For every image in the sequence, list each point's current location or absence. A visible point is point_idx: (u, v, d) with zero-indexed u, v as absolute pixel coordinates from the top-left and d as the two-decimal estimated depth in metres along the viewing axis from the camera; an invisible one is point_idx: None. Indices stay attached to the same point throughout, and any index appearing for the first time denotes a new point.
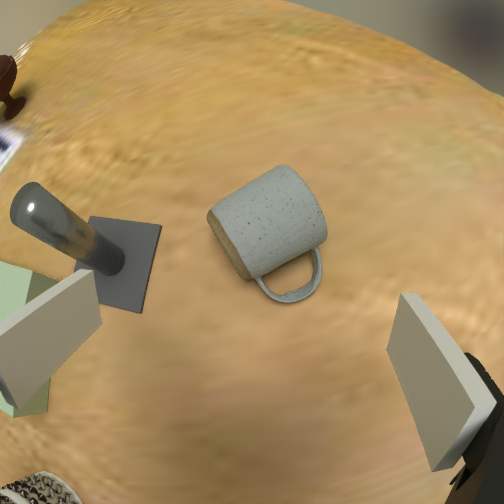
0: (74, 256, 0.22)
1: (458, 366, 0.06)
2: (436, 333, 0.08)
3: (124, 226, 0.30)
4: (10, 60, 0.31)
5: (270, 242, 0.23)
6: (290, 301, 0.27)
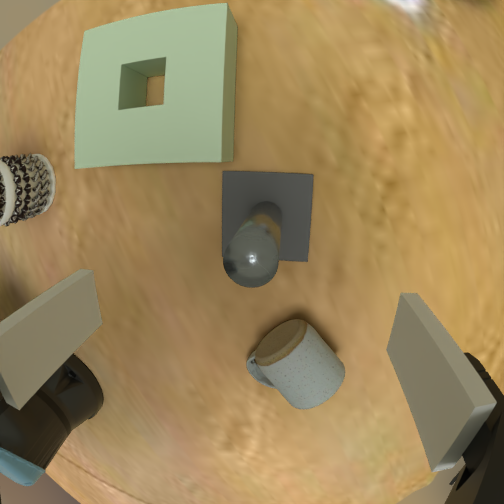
0: None
1: (458, 366, 0.06)
2: (436, 333, 0.08)
3: (303, 223, 0.31)
4: None
5: (275, 382, 0.30)
6: (247, 368, 0.36)
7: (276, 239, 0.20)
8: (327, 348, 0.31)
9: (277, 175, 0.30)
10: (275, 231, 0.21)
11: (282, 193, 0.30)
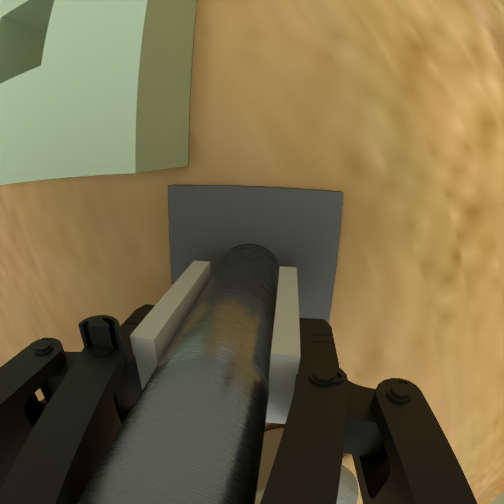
0: None
1: (282, 322, 0.09)
2: (284, 297, 0.11)
3: (321, 284, 0.16)
4: None
5: None
6: None
7: (250, 450, 0.05)
8: None
9: (272, 193, 0.15)
10: (252, 397, 0.06)
11: (282, 228, 0.16)
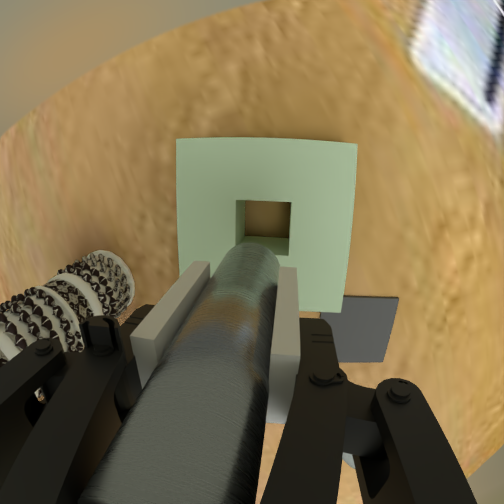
0: None
1: (282, 322, 0.09)
2: (284, 297, 0.11)
3: (385, 335, 0.34)
4: None
5: None
6: None
7: (250, 446, 0.05)
8: None
9: (370, 300, 0.33)
10: (252, 394, 0.06)
11: (372, 314, 0.33)
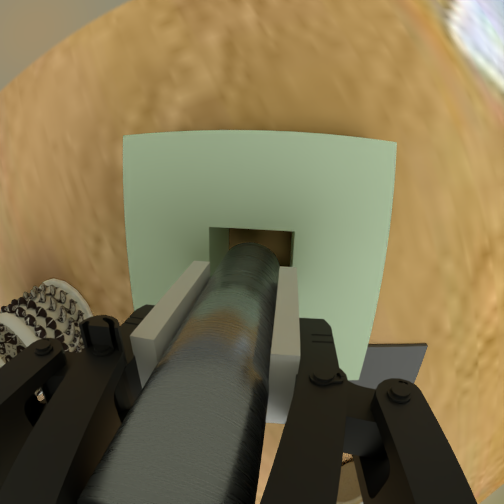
0: None
1: (282, 322, 0.09)
2: (284, 297, 0.11)
3: None
4: None
5: None
6: None
7: (250, 446, 0.05)
8: None
9: (392, 349, 0.24)
10: (252, 394, 0.06)
11: (393, 365, 0.24)
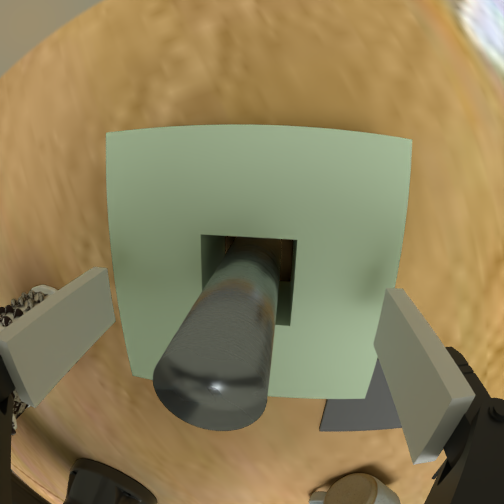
0: None
1: (437, 358, 0.07)
2: (418, 327, 0.09)
3: None
4: None
5: None
6: (309, 503, 0.29)
7: (266, 331, 0.10)
8: (390, 496, 0.24)
9: None
10: (266, 306, 0.11)
11: None
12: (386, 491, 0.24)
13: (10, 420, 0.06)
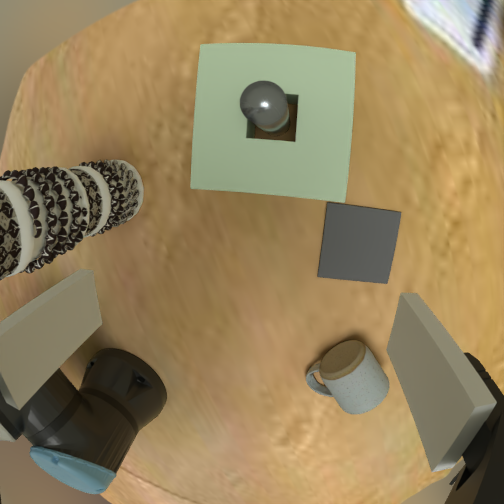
0: None
1: (458, 366, 0.06)
2: (436, 333, 0.08)
3: (389, 252, 0.35)
4: None
5: (336, 393, 0.35)
6: (306, 379, 0.41)
7: None
8: (378, 365, 0.36)
9: (373, 211, 0.34)
10: None
11: (375, 226, 0.34)
12: (374, 357, 0.36)
13: None
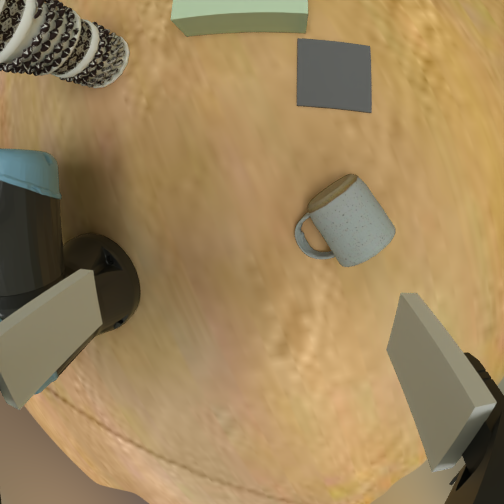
0: None
1: (458, 366, 0.06)
2: (436, 333, 0.08)
3: (365, 80, 0.31)
4: None
5: (331, 229, 0.31)
6: (296, 237, 0.37)
7: None
8: (376, 200, 0.32)
9: (342, 44, 0.30)
10: None
11: (347, 56, 0.30)
12: None
13: None
